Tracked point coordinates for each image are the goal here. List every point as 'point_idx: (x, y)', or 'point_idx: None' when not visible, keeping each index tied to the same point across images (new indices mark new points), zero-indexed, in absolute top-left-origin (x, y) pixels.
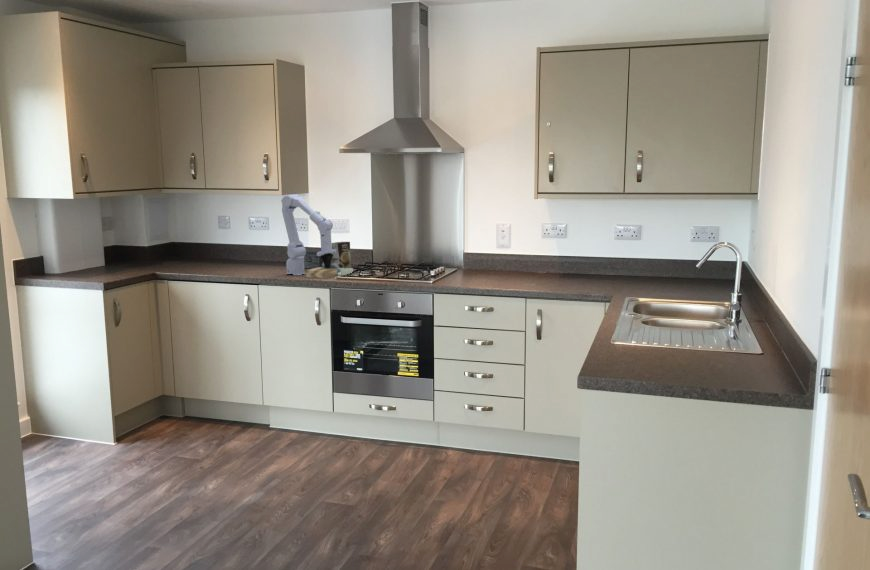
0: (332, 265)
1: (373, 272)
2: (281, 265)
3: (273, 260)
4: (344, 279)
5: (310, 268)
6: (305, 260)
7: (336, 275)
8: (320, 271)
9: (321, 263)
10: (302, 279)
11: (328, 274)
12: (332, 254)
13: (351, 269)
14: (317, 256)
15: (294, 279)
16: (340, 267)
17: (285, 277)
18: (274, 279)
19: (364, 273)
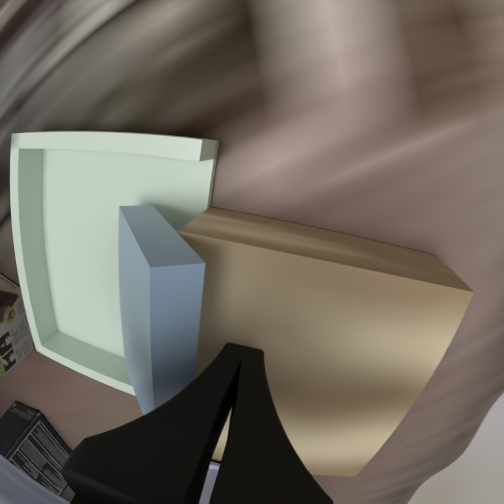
0: (194, 323)
1: (23, 11)
2: (73, 493)
3: None
4: (460, 28)
5: (64, 446)
6: (59, 483)
7: (234, 212)
8: (439, 351)
9: (17, 422)
10: (444, 406)
11: (397, 257)
12: (95, 486)
13: (38, 132)
14: (15, 460)
15: (429, 440)
16: (4, 301)
17: (340, 492)
18: (401, 493)
19: (56, 29)
